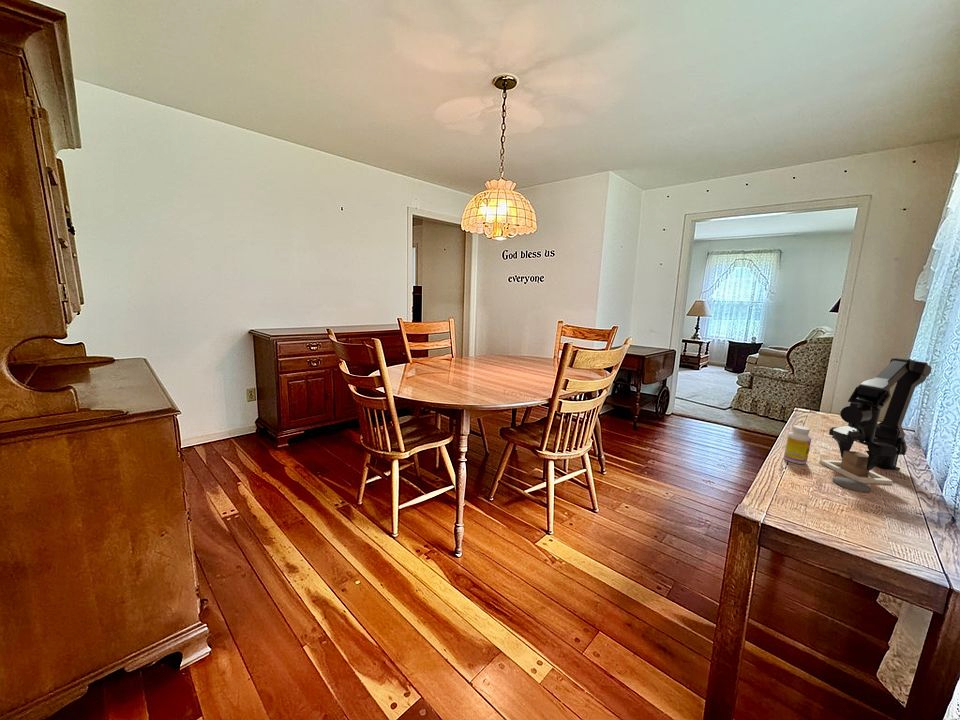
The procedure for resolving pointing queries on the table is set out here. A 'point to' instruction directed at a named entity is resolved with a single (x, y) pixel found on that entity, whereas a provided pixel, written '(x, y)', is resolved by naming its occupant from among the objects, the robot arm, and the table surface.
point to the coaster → (851, 484)
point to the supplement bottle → (798, 445)
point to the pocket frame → (875, 479)
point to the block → (855, 463)
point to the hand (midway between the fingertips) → (855, 464)
